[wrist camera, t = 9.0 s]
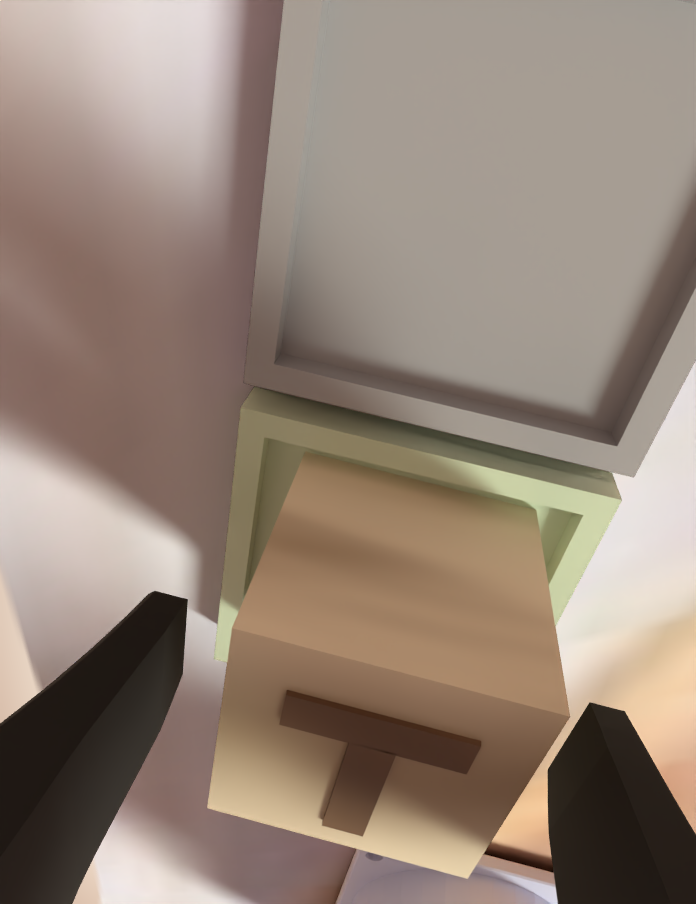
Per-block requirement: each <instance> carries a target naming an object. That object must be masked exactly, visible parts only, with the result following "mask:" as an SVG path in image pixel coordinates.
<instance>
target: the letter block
mask: <svg viewBox="0 0 696 904" xmlns="http://www.w3.org/2000/svg"><path fill="white" fill-rule="evenodd" d="M569 718H570V713H569V707H568V701H567V695H566V689H565V683H564V676H563V670H562V664H561V658H560V652H559V646H558V640H557V634H556V628H555V621H554V615H553V609H552V603H551V597H550V591H549V585H548V579H547V572H546V566H545V560H544V554H543V548H542V542H541V536H540V530H539V523H538V517H537V511H536V510H535V509H531V508H527V507H523V506H519V505H515V504H511V503H507V502H503V501H499V500H495V499H491V498H487V497H483V496H480V495H476V494H472V493H468V492H464V491H460V490H456V489H452V488H448V487H444V486H440V485H436V484H432V483H428V482H424V481H420V480H416V479H412V478H408V477H404V476H400V475H396V474H392V473H388V472H384V471H381V470H377V469H373V468H369V467H365V466H361V465H357V464H353V463H349V462H345V461H341V460H337V459H333V458H329V457H325V456H321V455H317V454H313V453H309V452H305V453H304V456H303V458H302V460H301V463H300V465H299V468H298V470H297V472H296V475H295V477H294V480H293V482H292V485H291V487H290V489H289V492H288V494H287V497H286V499H285V501H284V504H283V506H282V509H281V511H280V513H279V516H278V518H277V521H276V523H275V525H274V528H273V530H272V533H271V535H270V538H269V540H268V542H267V545H266V547H265V550H264V552H263V554H262V557H261V559H260V562H259V564H258V566H257V569H256V571H255V574H254V576H253V579H252V581H251V583H250V586H249V588H248V591H247V593H246V595H245V598H244V600H243V603H242V605H241V607H240V610H239V612H238V615H237V617H236V619H235V622H234V624H233V627H232V631H231V638H230V646H229V653H228V660H227V668H226V675H225V682H224V689H223V697H222V704H221V711H220V718H219V726H218V733H217V740H216V747H215V755H214V762H213V769H212V776H211V784H210V791H209V798H208V805H207V808H208V809H212V810H215V811H219V812H223V813H226V814H230V815H234V816H238V817H241V818H245V819H249V820H252V821H256V822H260V823H263V824H267V825H271V826H274V827H278V828H282V829H285V830H289V831H293V832H296V833H300V834H304V835H308V836H311V837H315V838H319V839H322V840H326V841H330V842H333V843H337V844H341V845H344V846H348V847H352V848H355V849H359V850H363V851H367V852H370V853H374V854H378V855H381V856H385V857H389V858H392V859H396V860H400V861H403V862H407V863H411V864H414V865H418V866H422V867H426V868H429V869H433V870H437V871H440V872H444V873H448V874H451V875H455V876H459V877H462V878H466V879H468V877H469V876H470V874H471V873H472V871H473V870H474V868H475V866H476V865H477V863H478V862H479V860H480V858H481V857H482V855H483V854H484V852H485V851H486V849H487V847H488V846H489V844H490V843H491V841H492V839H493V838H494V836H495V835H496V833H497V832H498V830H499V828H500V827H501V825H502V824H503V822H504V820H505V819H506V817H507V816H508V814H509V813H510V811H511V809H512V808H513V806H514V805H515V803H516V801H517V800H518V798H519V797H520V795H521V794H522V792H523V790H524V789H525V787H526V786H527V784H528V782H529V781H530V779H531V778H532V776H533V775H534V773H535V771H536V770H537V768H538V767H539V765H540V763H541V762H542V760H543V759H544V757H545V756H546V754H547V752H548V751H549V749H550V748H551V746H552V744H553V743H554V741H555V740H556V738H557V737H558V735H559V733H560V732H561V730H562V729H563V727H564V725H565V724H566V722H567V721H568V719H569Z"/></svg>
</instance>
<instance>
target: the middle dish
mask: <svg viewBox="0 0 696 904" xmlns="http://www.w3.org/2000/svg"><path fill="white" fill-rule="evenodd" d="M695 361H696V0H284V3H283V13H282V22H281V32H280V41H279V50H278V60H277V69H276V79H275V88H274V97H273V107H272V116H271V126H270V135H269V145H268V154H267V163H266V173H265V182H264V192H263V201H262V211H261V220H260V229H259V239H258V248H257V258H256V267H255V276H254V286H253V295H252V305H251V314H250V324H249V333H248V342H247V352H246V361H245V371H244V380H243V383H245V384H249V385H253V386H257V387H261V388H265V389H270V390H274V391H278V392H282V393H286V394H290V395H294V396H299V397H303V398H307V399H311V400H315V401H319V402H323V403H328V404H332V405H336V406H340V407H344V408H348V409H352V410H357V411H361V412H365V413H369V414H373V415H377V416H381V417H386V418H390V419H394V420H398V421H402V422H406V423H410V424H414V425H419V426H423V427H427V428H431V429H435V430H439V431H443V432H448V433H452V434H456V435H460V436H464V437H468V438H472V439H477V440H481V441H485V442H489V443H493V444H497V445H501V446H506V447H510V448H514V449H518V450H522V451H526V452H530V453H535V454H539V455H543V456H547V457H551V458H555V459H559V460H564V461H568V462H572V463H576V464H580V465H584V466H588V467H592V468H597V469H601V470H605V471H609V472H613V473H617V474H621V475H626V476H630V477H634V476H635V474H636V473H637V471H638V469H639V467H640V465H641V463H642V461H643V459H644V457H645V455H646V454H647V452H648V450H649V448H650V446H651V444H652V442H653V440H654V438H655V437H656V435H657V433H658V431H659V429H660V427H661V425H662V423H663V421H664V419H665V418H666V416H667V414H668V412H669V410H670V408H671V406H672V404H673V402H674V400H675V399H676V397H677V395H678V393H679V391H680V389H681V387H682V385H683V383H684V382H685V380H686V378H687V376H688V374H689V372H690V370H691V368H692V366H693V364H694V363H695Z"/></svg>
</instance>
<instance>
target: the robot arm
mask: <svg viewBox="0 0 696 904" xmlns="http://www.w3.org/2000/svg"><path fill="white" fill-rule="evenodd" d="M187 602H188V599H184V598H180V597H176V596H172V595H169V594H165V593H161V592H157V591H154V592H152V593H150V594H148V595H147V596H146V597H145V598H144V599H143V600H142V601H141V602H140V603H139V604H138V605H137V606H136V607H135V608H134V609H133V610H132V611H131V612H130V613H129V614H128V615H127V616H126V617H125V618H124V619H123V620H122V621H121V622H120V623H119V624H117V625H116V626H115V627H114V628H113V629H112V630H111V631H110V632H109V633H108V634H107V635H106V636H105V637H104V638H102V639H101V640H100V641H99V642H98V643H97V644H96V645H95V646H94V647H93V648H91V649H90V650H89V651H88V652H87V653H86V654H85V655H83V656H82V657H81V658H80V659H79V660H78V661H76V662H75V663H74V664H73V665H72V666H71V667H70V668H68V669H67V670H66V671H65V672H64V673H63V674H61V675H60V676H59V677H58V678H57V679H56V680H54V681H53V682H52V683H51V684H50V685H48V686H47V687H46V688H45V689H44V690H42V691H41V692H40V693H38V694H37V695H36V696H35V697H33V698H32V699H31V700H30V701H28V702H27V703H26V704H25V705H23V706H22V707H21V708H20V709H18V710H17V711H16V712H14V713H13V714H12V715H11V716H9V717H8V718H7V719H5V720H4V721H3V722H2V723H0V904H72V903H73V901H74V898H75V896H76V894H77V891H78V889H79V887H80V884H81V883H82V880H83V878H84V876H85V874H86V872H87V870H88V868H89V866H90V864H91V862H92V860H93V858H94V856H95V854H96V852H97V850H98V848H99V846H100V844H101V842H102V840H103V839H104V837H105V835H106V833H107V831H108V829H109V827H110V825H111V823H112V821H113V820H114V818H115V816H116V814H117V812H118V810H119V808H120V806H121V804H122V802H123V801H124V799H125V797H126V795H127V793H128V791H129V789H130V787H131V785H132V783H133V782H134V780H135V778H136V776H137V774H138V772H139V770H140V768H141V766H142V764H143V762H144V761H145V759H146V757H147V755H148V753H149V751H150V749H151V747H152V745H153V743H154V741H155V739H156V737H157V735H158V733H159V732H160V730H161V727H162V725H163V722H164V720H165V717H166V715H167V712H168V710H169V707H170V705H171V702H172V700H173V697H174V695H175V692H176V690H177V687H178V685H179V682H180V679H181V677H182V674H183V660H184V646H185V631H186V617H187ZM548 824H549V839H550V847H551V855H552V863H553V871H554V873H553V872H549V871H546V870H542V869H538V868H534V867H531V866H527V865H523V864H519V863H515V862H512V861H508V860H504V859H500V858H497V857H493V856H489V855H485V854H483V855H482V857H481V858H480V860H479V862H478V863H477V865H476V866H475V868H474V870H473V871H472V873H471V874H470V876H469V877H468V879H466V878H462V877H459V876H455V875H451V874H448V873H444V872H440V871H437V870H433V869H429V868H426V867H422V866H418V865H414V864H411V863H407V862H403V861H400V860H396V859H392V858H389V857H385V856H381V855H378V854H374V853H370V852H367V851H363V850H359V849H356V852H355V854H354V857H353V859H352V862H351V865H350V867H349V870H348V872H347V875H346V878H345V880H344V883H343V885H342V888H341V890H340V893H339V896H338V898H337V901H336V903H335V904H696V834H695V832H694V831H693V829H692V827H691V826H690V824H689V822H688V821H687V819H686V817H685V816H684V814H683V812H682V811H681V809H680V807H679V805H678V804H677V802H676V800H675V799H674V797H673V795H672V793H671V792H670V790H669V788H668V786H667V785H666V783H665V781H664V779H663V778H662V776H661V774H660V772H659V771H658V769H657V767H656V765H655V764H654V762H653V760H652V758H651V757H650V755H649V753H648V751H647V750H646V748H645V746H644V744H643V742H642V741H641V739H640V737H639V735H638V734H637V732H636V730H635V728H634V727H633V725H632V723H631V721H630V720H629V718H628V716H627V715H626V713H625V711H621V710H617V709H613V708H609V707H606V706H602V705H598V704H594V703H589V704H588V706H587V708H586V709H585V711H584V712H583V714H582V716H581V717H580V719H579V720H578V722H577V724H576V725H575V727H574V728H573V730H572V732H571V733H570V735H569V736H568V738H567V740H566V741H565V743H564V744H563V746H562V748H561V749H560V751H559V752H558V754H557V756H556V757H555V759H554V760H553V762H552V764H551V765H550V767H549V768H548Z"/></svg>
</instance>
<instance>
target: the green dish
mask: <svg viewBox="0 0 696 904" xmlns="http://www.w3.org/2000/svg"><path fill="white" fill-rule="evenodd" d="M305 452H309V453H313V454H317V455H321V456H325V457H329V458H333V459H337V460H341V461H345V462H349V463H353V464H357V465H361V466H365V467H369V468H373V469H377V470H381V471H384V472H388V473H392V474H396V475H400V476H404V477H408V478H412V479H416V480H420V481H424V482H428V483H432V484H436V485H440V486H444V487H448V488H452V489H456V490H460V491H464V492H468V493H472V494H476V495H480V496H483V497H487V498H491V499H495V500H499V501H503V502H507V503H511V504H515V505H519V506H523V507H527V508H531V509H535V510H536V511H537V517H538V523H539V530H540V536H541V542H542V548H543V554H544V560H545V566H546V572H547V579H548V585H549V591H550V597H551V603H552V609H553V615H554V621H555V626H556V624H557V622H558V620H559V619H560V617H561V615H562V613H563V611H564V609H565V607H566V605H567V603H568V602H569V600H570V598H571V596H572V594H573V592H574V590H575V588H576V586H577V584H578V583H579V581H580V579H581V577H582V575H583V573H584V571H585V569H586V567H587V565H588V564H589V562H590V560H591V558H592V556H593V554H594V552H595V550H596V548H597V547H598V545H599V543H600V541H601V539H602V537H603V535H604V533H605V531H606V529H607V528H608V526H609V524H610V522H611V520H612V518H613V516H614V514H615V512H616V510H617V509H618V507H619V505H620V503H621V501H622V499H621V496H620V494H619V491H618V488H617V485H616V483H615V480H614V477H613V474H612V473H611V472H607V471H603V470H598V469H594V468H590V467H586V466H582V465H578V464H574V463H569V462H565V461H561V460H557V459H553V458H549V457H545V456H540V455H536V454H532V453H528V452H524V451H520V450H516V449H512V448H507V447H503V446H499V445H495V444H491V443H487V442H483V441H478V440H474V439H470V438H466V437H462V436H458V435H454V434H449V433H445V432H441V431H437V430H433V429H429V428H425V427H420V426H416V425H412V424H408V423H404V422H400V421H396V420H391V419H387V418H383V417H379V416H375V415H371V414H367V413H362V412H358V411H354V410H350V409H346V408H342V407H338V406H334V405H329V404H325V403H321V402H317V401H313V400H309V399H305V398H300V397H296V396H292V395H288V394H284V393H280V392H276V391H271V390H267V389H263V388H259V387H255V386H254V388H253V389H252V391H251V393H250V394H249V396H248V397H247V399H246V400H245V402H244V403H243V405H242V406H241V408H240V418H239V427H238V437H237V446H236V456H235V465H234V474H233V484H232V493H231V503H230V512H229V521H228V531H227V540H226V550H225V559H224V569H223V578H222V587H221V597H220V606H219V616H218V625H217V635H216V644H215V653H214V659H215V660H219V661H223V662H227V660H228V653H229V646H230V638H231V631H232V627H233V624H234V622H235V619H236V617H237V615H238V612H239V610H240V607H241V605H242V603H243V600H244V598H245V595H246V593H247V591H248V588H249V586H250V583H251V581H252V579H253V576H254V574H255V571H256V569H257V566H258V564H259V562H260V559H261V557H262V554H263V552H264V550H265V547H266V545H267V542H268V540H269V538H270V535H271V533H272V530H273V528H274V525H275V523H276V521H277V518H278V516H279V513H280V511H281V509H282V506H283V504H284V501H285V499H286V497H287V494H288V492H289V489H290V487H291V485H292V482H293V480H294V477H295V475H296V472H297V470H298V468H299V465H300V463H301V460H302V458H303V456H304V453H305Z"/></svg>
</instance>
